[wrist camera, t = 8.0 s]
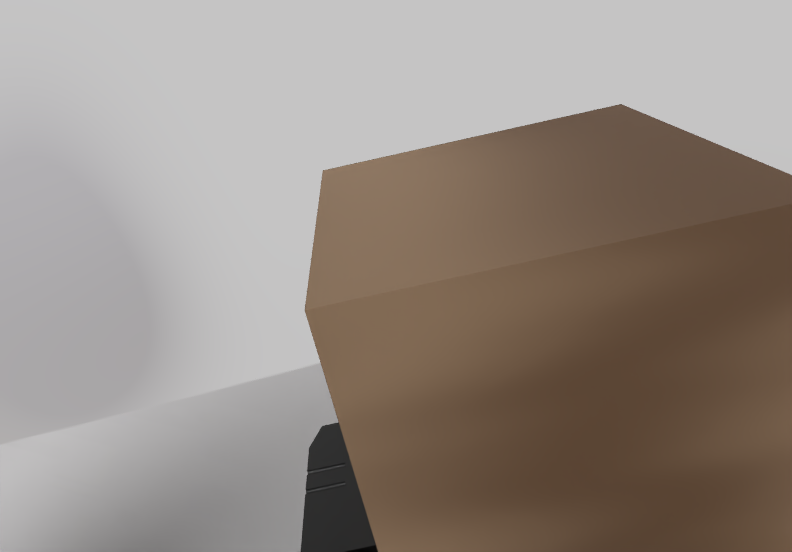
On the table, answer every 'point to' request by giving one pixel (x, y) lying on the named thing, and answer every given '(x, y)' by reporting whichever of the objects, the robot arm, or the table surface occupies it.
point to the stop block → (562, 340)
